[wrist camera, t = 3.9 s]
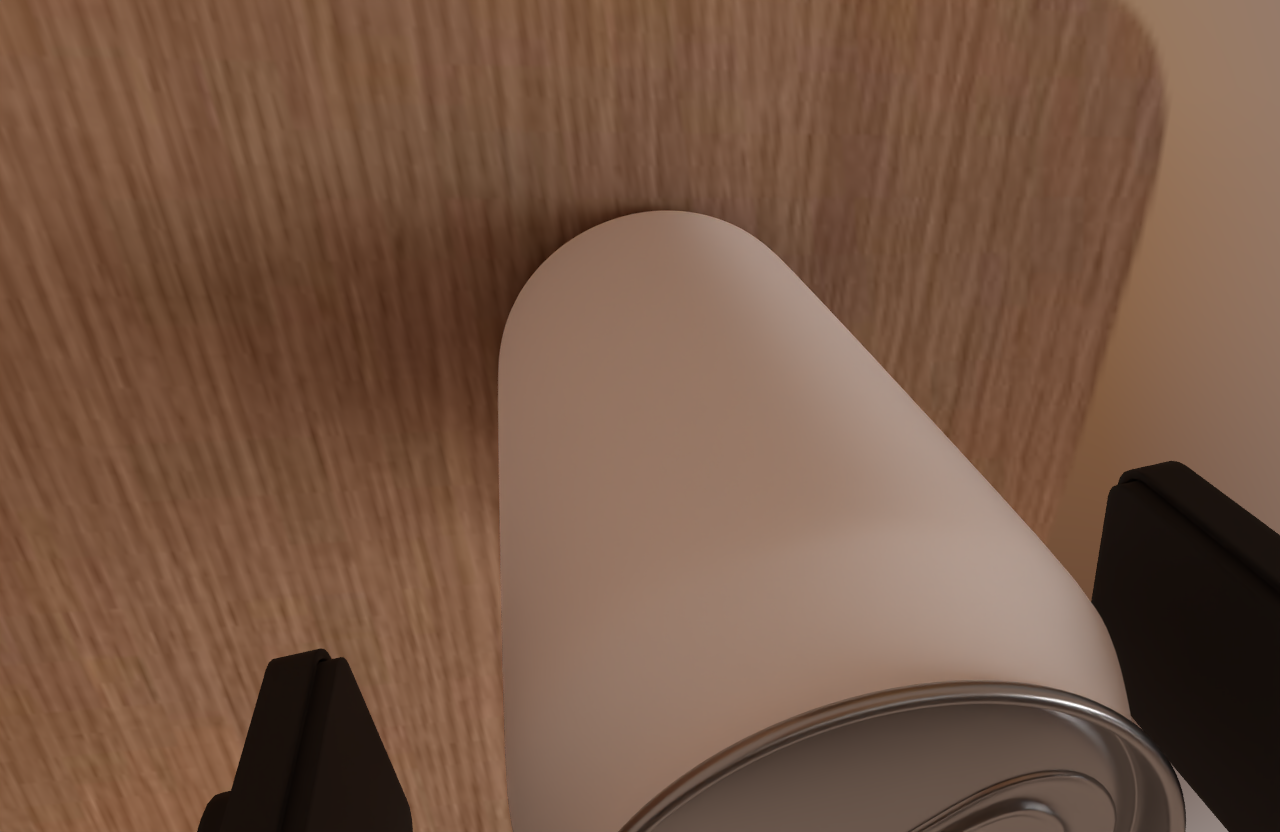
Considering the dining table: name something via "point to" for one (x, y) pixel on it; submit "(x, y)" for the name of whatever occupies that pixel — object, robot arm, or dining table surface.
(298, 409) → the dining table surface
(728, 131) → the dining table surface
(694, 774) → the can
